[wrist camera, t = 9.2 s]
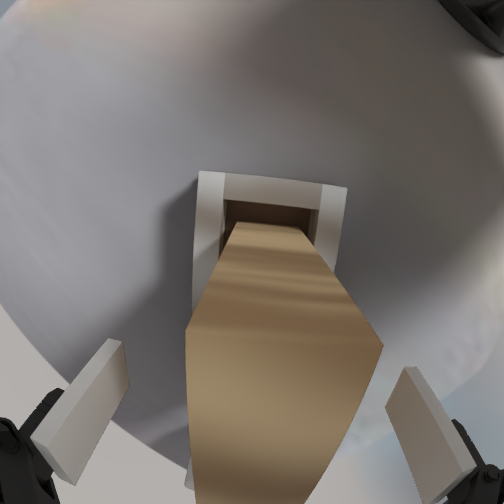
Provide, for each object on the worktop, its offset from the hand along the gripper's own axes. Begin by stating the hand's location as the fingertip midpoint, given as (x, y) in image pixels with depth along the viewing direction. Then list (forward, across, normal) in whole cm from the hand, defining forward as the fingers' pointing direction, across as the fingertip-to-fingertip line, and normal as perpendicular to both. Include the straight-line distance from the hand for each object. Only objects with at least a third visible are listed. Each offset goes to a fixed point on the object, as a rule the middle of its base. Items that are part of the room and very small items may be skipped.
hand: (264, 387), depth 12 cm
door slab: (+9, 0, 0) cm, 9 cm away
